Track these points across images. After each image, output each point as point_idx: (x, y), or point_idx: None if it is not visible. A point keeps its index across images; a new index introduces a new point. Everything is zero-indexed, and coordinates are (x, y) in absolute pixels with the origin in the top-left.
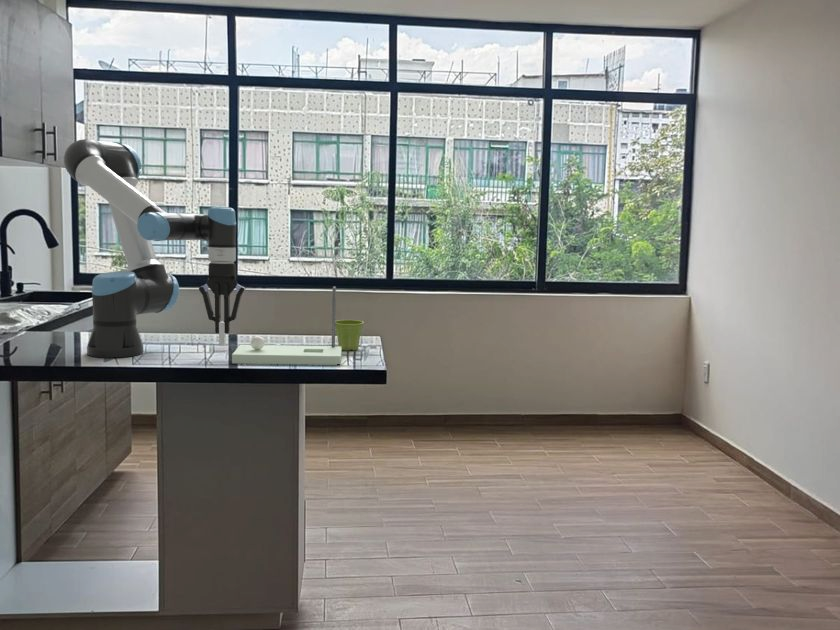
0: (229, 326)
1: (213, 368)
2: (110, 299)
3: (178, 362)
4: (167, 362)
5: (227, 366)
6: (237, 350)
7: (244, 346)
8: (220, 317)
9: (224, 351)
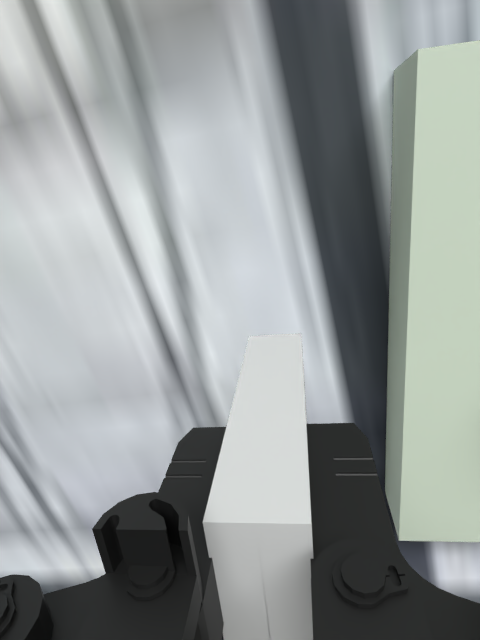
0: (381, 500)
1: None
2: None
3: (72, 485)
4: (19, 489)
5: None
6: (422, 394)
7: (476, 171)
8: (190, 636)
9: (217, 7)
